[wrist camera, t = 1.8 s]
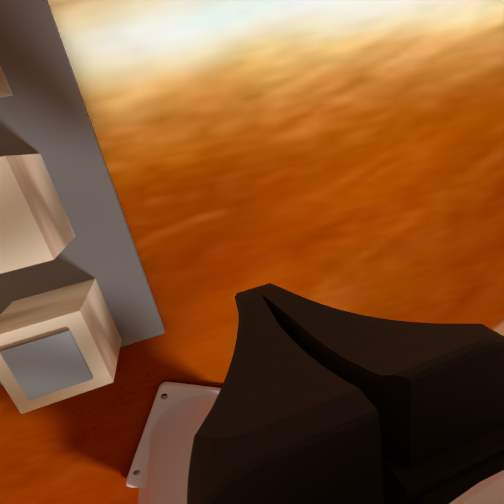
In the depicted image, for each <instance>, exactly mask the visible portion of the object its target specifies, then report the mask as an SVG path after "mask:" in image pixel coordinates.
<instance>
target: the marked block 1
mask: <svg viewBox="0 0 504 504" xmlns="http://www.w3.org/2000/svg"><path fill="white" fill-rule="evenodd" d="M7 96H13V93H12V91H11V89H10V86H9V84H8V82H7V79H6V77H5V75H4V72H3V70H2V68H1V65H0V98H1V97H7Z"/></svg>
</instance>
